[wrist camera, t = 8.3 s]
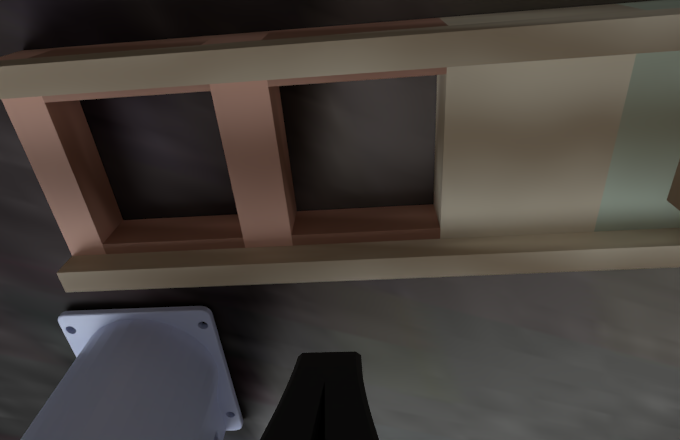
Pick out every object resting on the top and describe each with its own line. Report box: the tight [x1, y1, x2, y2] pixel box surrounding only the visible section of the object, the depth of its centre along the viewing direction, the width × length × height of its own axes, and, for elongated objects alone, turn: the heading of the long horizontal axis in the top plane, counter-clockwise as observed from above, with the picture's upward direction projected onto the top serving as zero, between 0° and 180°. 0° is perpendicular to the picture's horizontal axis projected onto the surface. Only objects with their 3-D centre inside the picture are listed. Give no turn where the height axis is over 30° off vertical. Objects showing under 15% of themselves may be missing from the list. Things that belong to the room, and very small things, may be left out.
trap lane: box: [0, 0, 680, 292], centre depth 17 cm, size 9×30×4 cm, turn 94°
